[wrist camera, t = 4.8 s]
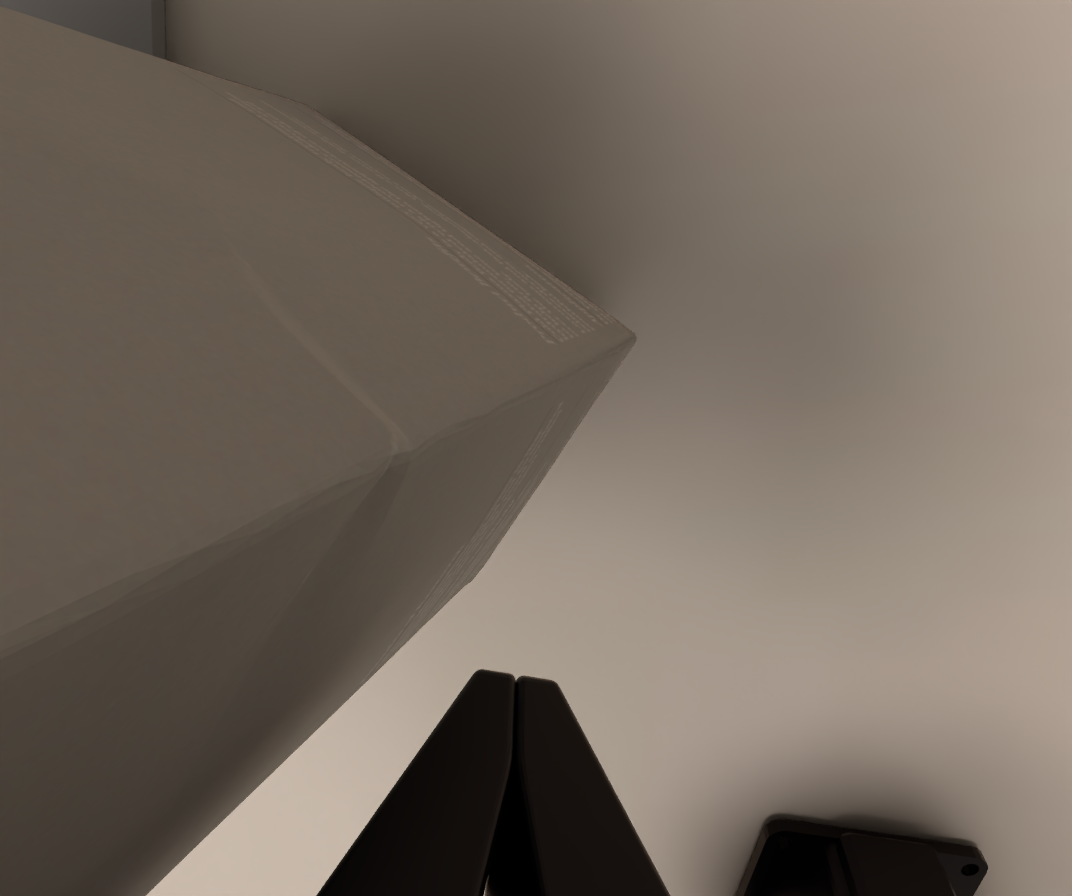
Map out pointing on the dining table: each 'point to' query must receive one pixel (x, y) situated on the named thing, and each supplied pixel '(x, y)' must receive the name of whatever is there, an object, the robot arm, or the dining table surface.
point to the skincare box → (232, 439)
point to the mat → (105, 20)
